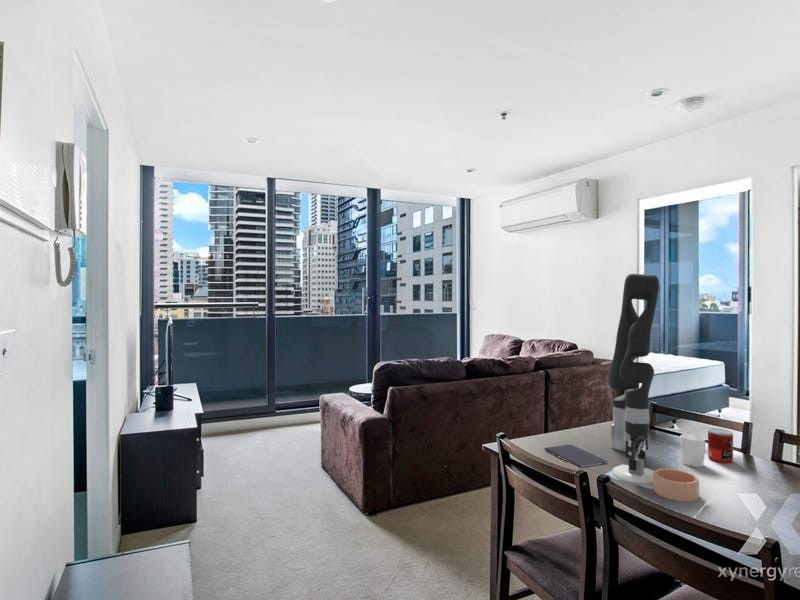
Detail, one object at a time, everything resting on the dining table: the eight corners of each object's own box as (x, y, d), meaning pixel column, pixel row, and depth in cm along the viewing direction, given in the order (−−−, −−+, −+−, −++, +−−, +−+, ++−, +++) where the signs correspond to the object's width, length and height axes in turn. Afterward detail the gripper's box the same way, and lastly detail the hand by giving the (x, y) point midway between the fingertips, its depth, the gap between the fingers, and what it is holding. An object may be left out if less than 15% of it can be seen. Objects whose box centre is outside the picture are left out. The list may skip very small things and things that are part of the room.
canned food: (725, 465, 173) (725, 435, 173) (703, 458, 180) (703, 429, 180) (737, 461, 177) (737, 432, 177) (715, 455, 184) (715, 426, 184)
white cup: (709, 468, 170) (709, 441, 170) (685, 467, 172) (685, 439, 172) (700, 461, 178) (699, 434, 178) (677, 459, 179) (676, 433, 179)
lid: (605, 475, 164) (605, 459, 164) (622, 464, 174) (622, 448, 174) (651, 488, 153) (651, 470, 153) (667, 475, 163) (667, 458, 163)
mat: (603, 476, 164) (603, 475, 164) (621, 464, 175) (621, 463, 175) (652, 490, 152) (652, 489, 152) (669, 476, 163) (669, 475, 163)
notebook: (544, 451, 192) (580, 470, 172) (544, 447, 192) (580, 465, 172) (570, 448, 196) (608, 465, 176) (570, 444, 196) (608, 461, 176)
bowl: (648, 494, 149) (648, 475, 149) (661, 483, 158) (661, 465, 158) (691, 506, 141) (691, 486, 141) (702, 494, 149) (702, 475, 149)
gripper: (633, 414, 171) (633, 459, 171) (617, 421, 161) (618, 469, 161) (655, 418, 165) (656, 464, 165) (641, 426, 155) (641, 475, 155)
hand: (637, 466), depth 163 cm, fingers open, 8 cm apart
